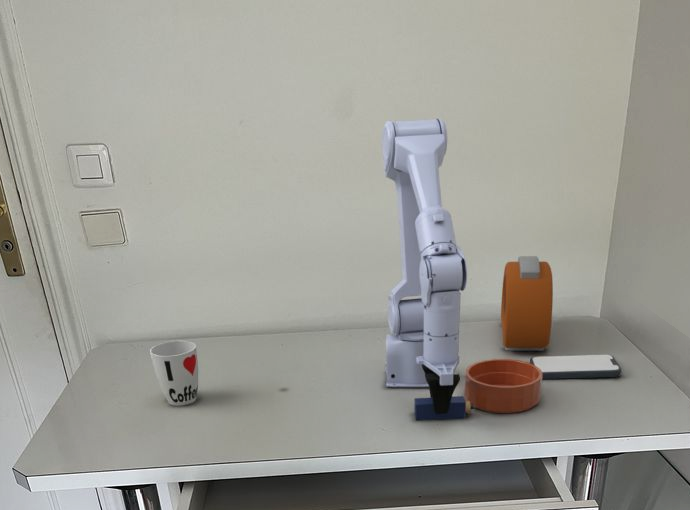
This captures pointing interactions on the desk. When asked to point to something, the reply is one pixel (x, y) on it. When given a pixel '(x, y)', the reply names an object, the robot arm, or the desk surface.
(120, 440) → the desk surface
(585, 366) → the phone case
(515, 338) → the alarm clock
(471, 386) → the bowl
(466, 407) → the pencil
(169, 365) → the cup
